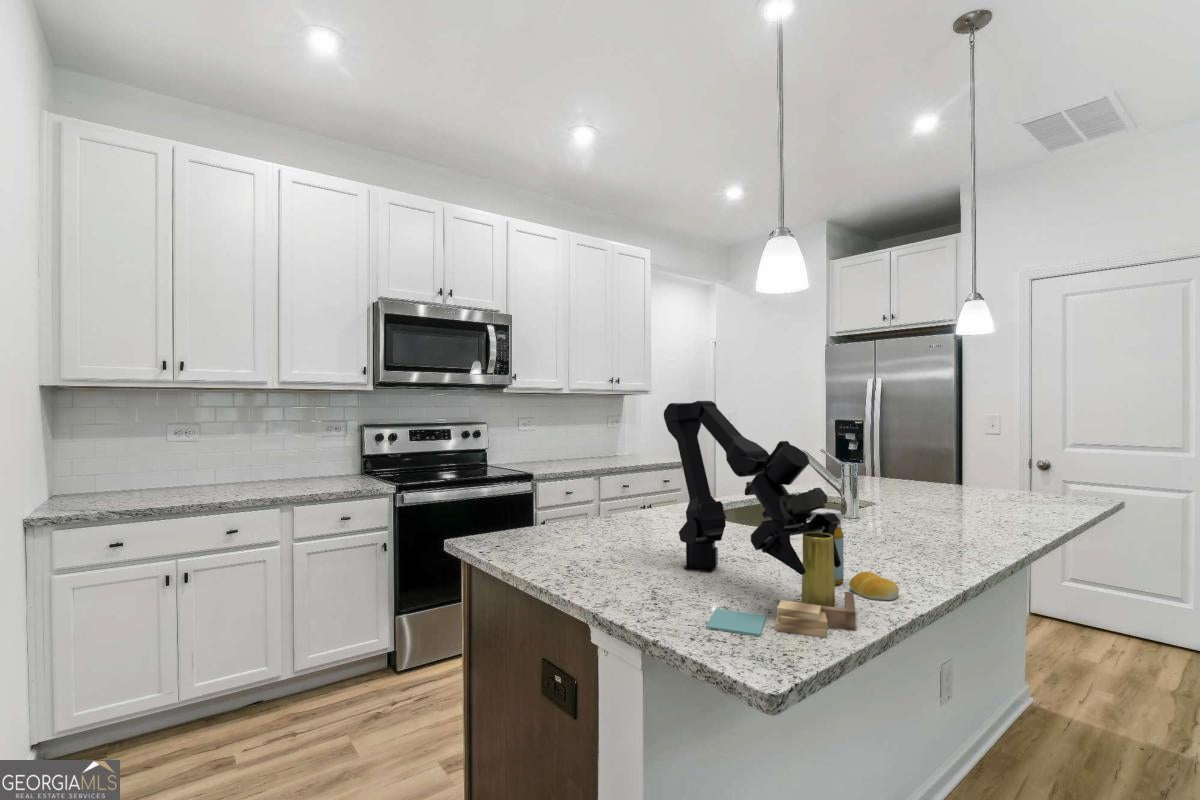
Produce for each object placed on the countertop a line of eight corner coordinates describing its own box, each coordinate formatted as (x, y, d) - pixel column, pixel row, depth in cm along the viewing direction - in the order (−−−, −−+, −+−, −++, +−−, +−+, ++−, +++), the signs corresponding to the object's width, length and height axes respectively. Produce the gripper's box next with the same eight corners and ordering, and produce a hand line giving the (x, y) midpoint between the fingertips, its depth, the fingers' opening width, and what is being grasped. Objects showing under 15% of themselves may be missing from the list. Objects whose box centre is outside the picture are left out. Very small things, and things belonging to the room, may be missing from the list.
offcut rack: (775, 630, 97) (774, 609, 97) (783, 600, 112) (782, 581, 112) (856, 642, 92) (856, 619, 92) (853, 608, 108) (853, 589, 108)
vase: (799, 617, 103) (799, 537, 103) (801, 605, 109) (801, 530, 109) (836, 621, 101) (836, 540, 101) (836, 610, 107) (835, 532, 107)
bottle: (846, 587, 120) (846, 514, 120) (811, 585, 121) (810, 513, 122) (839, 577, 127) (839, 508, 127) (806, 575, 128) (805, 507, 128)
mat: (705, 628, 98) (705, 626, 98) (715, 610, 107) (715, 608, 107) (760, 636, 95) (760, 634, 95) (766, 617, 103) (766, 615, 103)
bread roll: (877, 604, 111) (877, 583, 111) (842, 590, 119) (842, 570, 119) (909, 599, 113) (909, 578, 113) (873, 585, 122) (873, 566, 122)
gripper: (761, 477, 105) (810, 551, 95) (831, 470, 114) (883, 538, 104) (731, 513, 112) (775, 586, 102) (800, 505, 121) (846, 571, 111)
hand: (821, 569), depth 104 cm, fingers open, 9 cm apart
